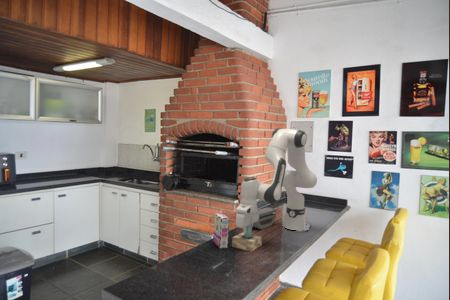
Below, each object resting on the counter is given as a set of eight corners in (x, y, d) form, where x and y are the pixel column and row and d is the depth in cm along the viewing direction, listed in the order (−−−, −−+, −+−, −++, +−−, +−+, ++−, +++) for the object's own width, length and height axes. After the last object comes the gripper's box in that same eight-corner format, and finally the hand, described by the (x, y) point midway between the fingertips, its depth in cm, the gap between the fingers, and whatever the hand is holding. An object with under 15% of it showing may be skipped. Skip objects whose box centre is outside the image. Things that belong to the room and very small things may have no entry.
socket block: (242, 240, 171) (243, 232, 171) (261, 245, 165) (261, 236, 165) (231, 246, 161) (232, 237, 161) (251, 251, 155) (251, 242, 155)
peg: (245, 241, 165) (246, 216, 165) (251, 243, 163) (252, 217, 163) (242, 243, 162) (243, 218, 162) (248, 244, 160) (249, 219, 160)
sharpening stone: (267, 222, 213) (267, 207, 212) (276, 224, 207) (277, 209, 207) (245, 229, 194) (246, 212, 194) (255, 232, 189) (255, 215, 188)
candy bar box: (228, 248, 159) (229, 217, 158) (219, 249, 157) (220, 218, 156) (221, 241, 169) (222, 212, 168) (212, 242, 167) (214, 213, 167)
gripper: (252, 203, 173) (251, 226, 173) (234, 209, 156) (233, 235, 156) (262, 205, 169) (261, 229, 170) (244, 211, 152) (243, 238, 153)
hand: (247, 232), depth 163 cm, fingers closed on peg, 4 cm apart
